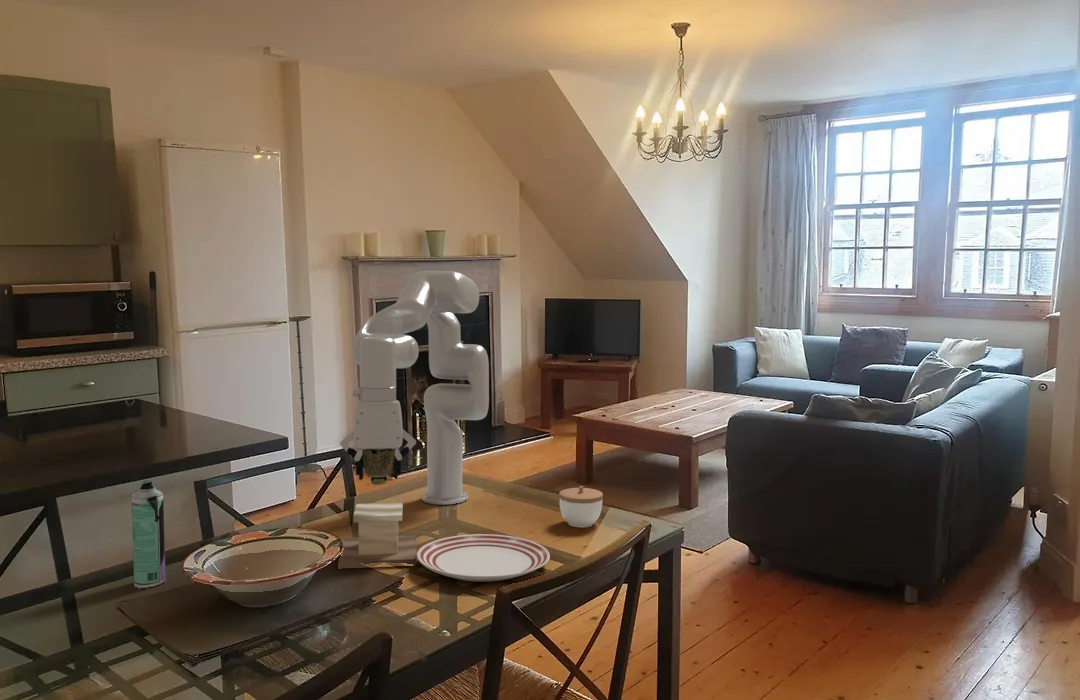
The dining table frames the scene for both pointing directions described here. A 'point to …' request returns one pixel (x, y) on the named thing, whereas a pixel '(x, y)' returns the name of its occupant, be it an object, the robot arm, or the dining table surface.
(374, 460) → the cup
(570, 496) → the lidded jar
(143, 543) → the spray can
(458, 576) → the dinner plate
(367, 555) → the cream pedestal stand
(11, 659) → the dining table surface
